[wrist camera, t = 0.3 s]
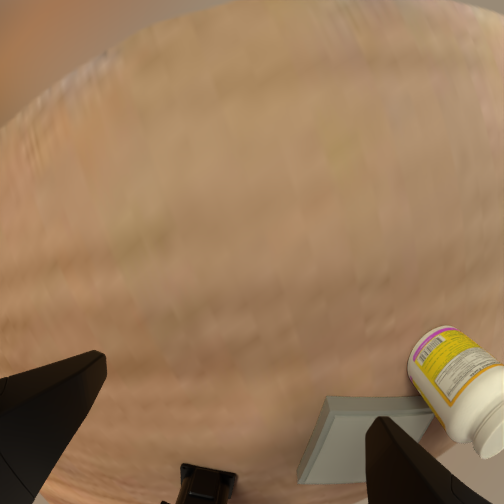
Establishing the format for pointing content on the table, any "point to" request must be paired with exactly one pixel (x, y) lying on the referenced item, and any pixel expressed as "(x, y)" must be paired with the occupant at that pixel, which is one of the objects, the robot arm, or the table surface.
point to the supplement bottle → (461, 388)
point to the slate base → (355, 435)
